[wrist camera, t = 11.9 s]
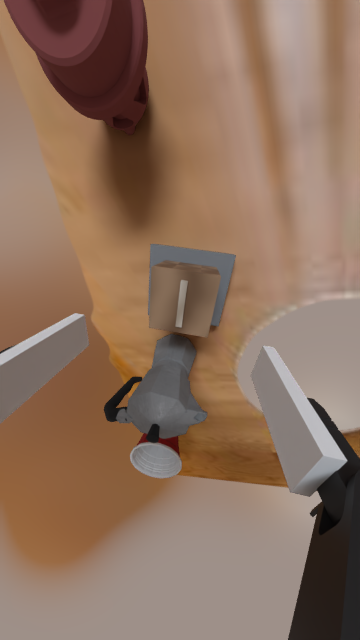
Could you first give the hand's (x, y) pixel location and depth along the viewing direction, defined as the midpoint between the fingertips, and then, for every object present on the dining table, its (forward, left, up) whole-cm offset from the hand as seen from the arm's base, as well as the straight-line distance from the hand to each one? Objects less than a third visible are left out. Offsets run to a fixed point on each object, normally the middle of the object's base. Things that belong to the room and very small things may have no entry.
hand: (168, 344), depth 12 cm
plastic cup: (+1, +34, -19) cm, 39 cm away
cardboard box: (0, 0, -17) cm, 17 cm away
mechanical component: (+11, -22, -19) cm, 31 cm away
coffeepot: (+2, +15, -19) cm, 25 cm away
